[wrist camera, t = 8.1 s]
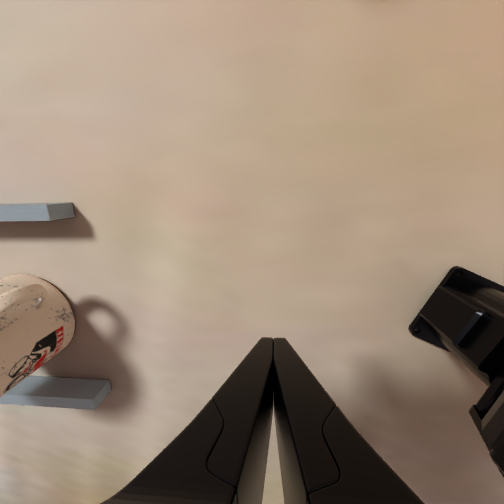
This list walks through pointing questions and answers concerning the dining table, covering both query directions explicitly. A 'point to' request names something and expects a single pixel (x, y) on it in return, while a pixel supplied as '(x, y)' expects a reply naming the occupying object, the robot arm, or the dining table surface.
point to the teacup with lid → (30, 326)
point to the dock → (51, 388)
